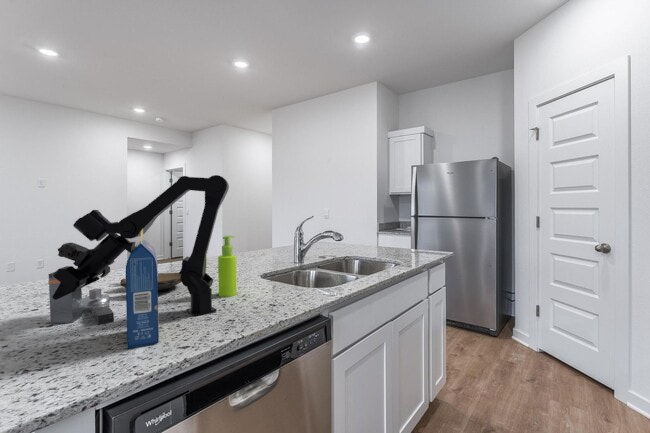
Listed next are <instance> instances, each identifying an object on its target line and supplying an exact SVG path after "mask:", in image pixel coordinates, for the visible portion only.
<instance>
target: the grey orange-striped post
mask: <svg viewBox="0 0 650 433" xmlns="http://www.w3.org/2000/svg"><path fill="white" fill-rule="evenodd" d="M55 272H56V271H54V272H51V273H48V291H49V314H50V316H49V317H50V325H57V324H59V325H60V324H70V323H71V324H72V323H74V322H76V321H77V320H79V319H80V318H81V317H83V311H82V298H83V297H82V296H83V293H82V291H83V290H82V288H81V289H79V290H76V291H74V292H72V293H70V294H68V295H65V296H63V297H61V298H59V299H57V300H55V299H53V298H52V296H53V295H54V293H55V291H56V290H57V288H58V286H59V284H60V281H58V280H57V279H56V278H55V277H53V274H54V273H55Z"/></svg>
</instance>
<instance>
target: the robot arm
mask: <svg viewBox="0 0 650 433" xmlns="http://www.w3.org/2000/svg"><path fill="white" fill-rule="evenodd" d="M229 188H230V186H229V182H228V180H226V179H225V177H223V176H221V175H218V174H215V175H211V176H209V177H199V176H198V177H194V176H192V177H191V176H187V175H182V176H180V177H179V178H178V179H177V181H175V182H174V183H173V184H172V185H171V186H169V187H168V188H167V189H166V190H164V191H163V192H162V193H161V194H159V195H158V196H156V198H154V199H153V200H152V201H151V202H149V203H148V204H147V205H146V206H144V207H143V208H141V209H139V210H137V211H134V212H133V213H131V214H129V215H127V216H126V217H124V218H122V219H120V221H115V222H111V221H110V220H109V219H108V218H107V217H105V216H104V215H103V214H102V212H100V211H99V209H92V210H91V211H90V212H88V213H86V214H85V215H83V216H81V217H78V219H76V221H74V223H73V225H72V226H73V228H75V229H76V230H77V231H78V232H79V233H80V234H82V235H83V236H84V237H85V238H86V239H87V240H89V241H90V242H93V241H96V242H99V241H100V242H99V243H98V244H97V245H96V246H95V247H93V248H88V247H85V246H83V245H80V244H77V243H75V242H64V243H63V244H62V245H61V246H60V247H58V248H57V252H58V254H57V256H59V257H60V258H65V259H68V260H70V261H73V263H72V265H74V266H75V267H77V268H75V267H74V266H72V265H66V266H62V267H60V268H58V269H57V270H56V271H54V272H55V273H54V274H53V277H55V278H56V279H57V280H58V281H60V284H59V286H58V288H57V290H56V291H55V293H54V295H53V296H52V298H53V299H55V300H57V299H59V298H61V297H63V296H65V295H68V294H70V293H72V292H74V291H76V290H79V289H81V290H82V289H83V288H84V287H86V286H88V285H92V283H95V282H97V281H99V280H100V278H101V279H102V278H104V277H107V276H108V275H109V273H111V267H110V266H111V265H112V264H114V263H115V262H116V259H118V257H119V256H120V255H121V254H122V253H124V251H127V252H128V254H130V253H131V251H132V250H133V249H134V248H135V246H136V241H130V240H128V239H135V238H138V237H141V230H142V228H143V235H145V234H146V233H147V232H148V230H149V229H151V227H152V225H153V224H154V223H155V221H156V220H157V219H158V217H159V216H160V215H162V214H163V213H164V212H165V211H166V210H168V209H169V208H170V207H171V206H173V205H174V204H175V203H176V202H177V201H178V200H180V199H181V198H183V196H184V195H186V194H187V193H189V192H190V191H195V192H204V208H203V212H202V215H201V218H200V223H199V226H198V229H197V233H196V236H195V241H194V244H193V248H192V252H191V254H190V256H186V257H184V258H183V259H182V260H181V268H180V270H179V272H178V273H179V274H181V277H180V280H181V283H182V285H183V286H184V287H186V288H187V290H188V292H189V293H188V294H190V307H189V308H186V312H188V313H189V314H190V315H192V316H193V317H194V316H195V317H196V316H201V315H206V314H209V313H213V312H217V308H216V307H214V306H213V297H212V296H213V295H212V294H213V293H212V292H213V290H212V288H211V287H212V285H213V283H214V278H213V277H211V276H210V275H209V274H208V273H207V255H208V251H209V247H210V243H211V239H212V235H213V231H214V228H215V225H216V222H217V221H216V220H217V217H218V213H219V209H220V208H221V205H222V204H223V202H224V199H225V198H226V196H227V194H228V192H229V190H230V189H229Z"/></svg>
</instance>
